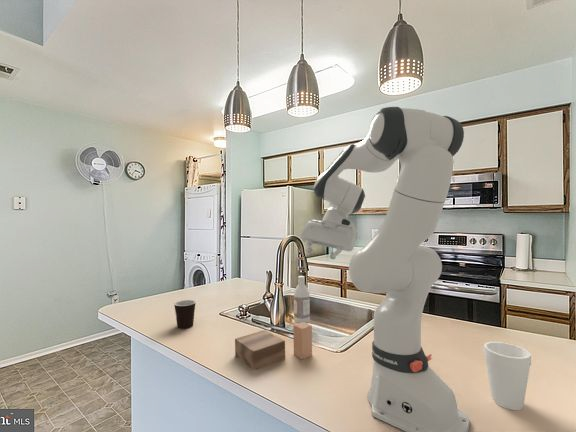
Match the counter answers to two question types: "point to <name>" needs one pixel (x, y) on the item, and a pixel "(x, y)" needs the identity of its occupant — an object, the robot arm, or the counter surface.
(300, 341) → the light wooden block
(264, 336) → the walnut block
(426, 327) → the counter surface
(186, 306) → the coffee mug
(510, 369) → the foam cup
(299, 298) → the bath foam
